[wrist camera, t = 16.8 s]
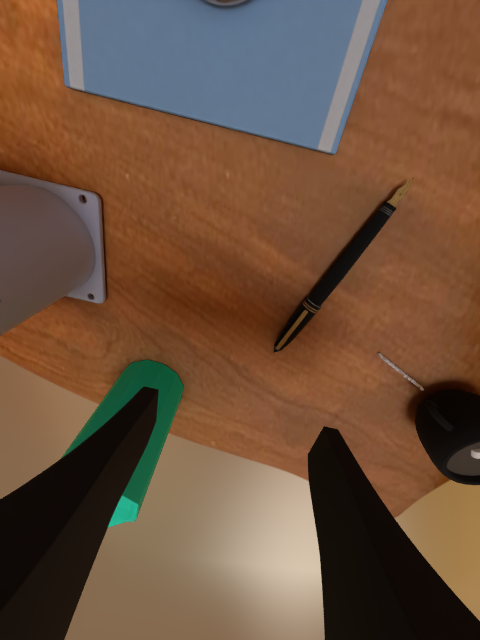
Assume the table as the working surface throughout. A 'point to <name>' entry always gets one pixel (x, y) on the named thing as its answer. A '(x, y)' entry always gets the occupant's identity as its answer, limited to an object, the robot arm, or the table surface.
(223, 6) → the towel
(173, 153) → the table surface
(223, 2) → the pill bottle
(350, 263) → the fountain pen
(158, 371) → the candle
